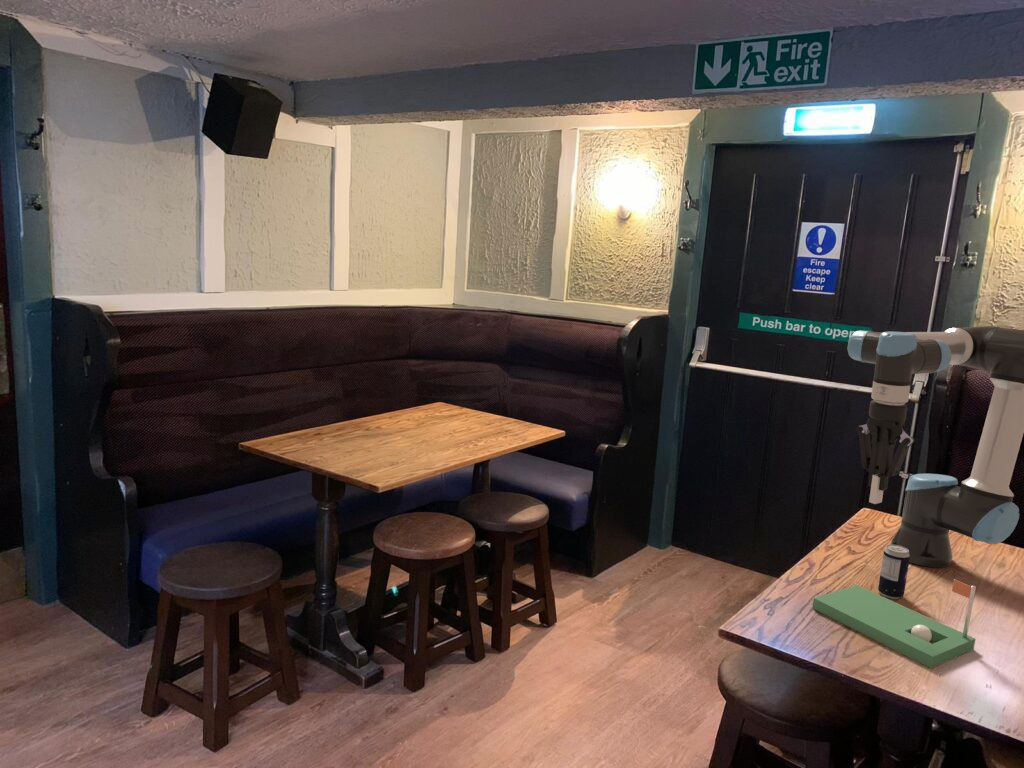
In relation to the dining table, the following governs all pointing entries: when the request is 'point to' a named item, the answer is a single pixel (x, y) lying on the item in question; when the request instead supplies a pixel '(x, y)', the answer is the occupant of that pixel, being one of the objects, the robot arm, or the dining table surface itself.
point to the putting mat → (893, 625)
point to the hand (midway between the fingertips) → (875, 502)
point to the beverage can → (894, 571)
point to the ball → (922, 632)
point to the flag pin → (969, 593)
